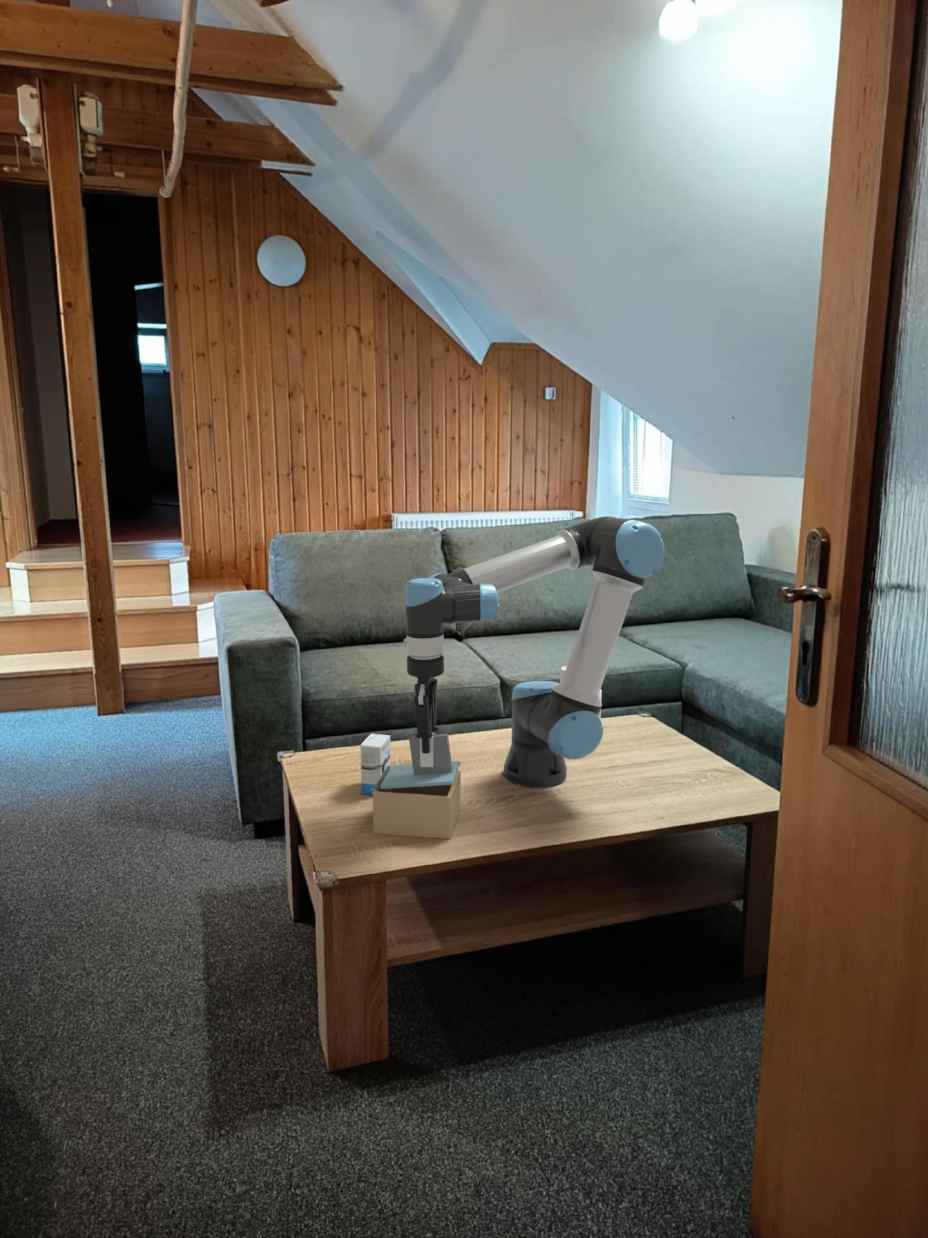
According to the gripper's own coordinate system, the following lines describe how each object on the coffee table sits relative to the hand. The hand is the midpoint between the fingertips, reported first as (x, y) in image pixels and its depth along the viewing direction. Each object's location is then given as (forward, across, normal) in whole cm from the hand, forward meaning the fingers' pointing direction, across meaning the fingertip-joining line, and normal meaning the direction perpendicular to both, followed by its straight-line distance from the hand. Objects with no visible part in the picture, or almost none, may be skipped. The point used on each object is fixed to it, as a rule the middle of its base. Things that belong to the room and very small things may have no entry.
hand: (427, 764), depth 178 cm
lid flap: (+3, 0, -2) cm, 4 cm away
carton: (+13, 0, -2) cm, 13 cm away
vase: (+14, -56, +31) cm, 65 cm away
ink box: (+13, -16, -15) cm, 26 cm away
